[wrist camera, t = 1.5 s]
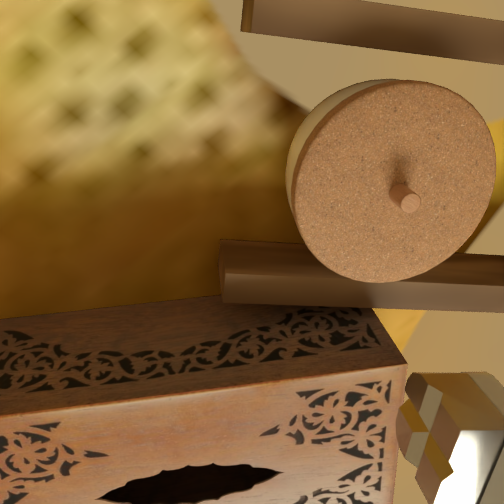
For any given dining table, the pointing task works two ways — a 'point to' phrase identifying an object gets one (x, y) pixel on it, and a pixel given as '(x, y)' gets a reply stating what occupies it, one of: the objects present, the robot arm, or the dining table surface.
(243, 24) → the u-shaped frame
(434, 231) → the lidded jar
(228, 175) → the dining table surface
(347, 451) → the tissue box cover
